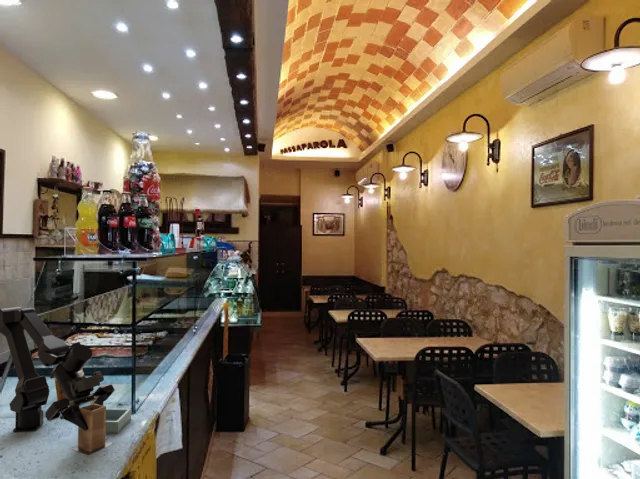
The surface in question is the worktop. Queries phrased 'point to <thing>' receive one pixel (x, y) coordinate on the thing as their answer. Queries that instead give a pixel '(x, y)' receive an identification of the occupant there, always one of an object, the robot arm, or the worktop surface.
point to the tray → (117, 419)
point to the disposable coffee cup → (61, 389)
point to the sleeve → (92, 427)
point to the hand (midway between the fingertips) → (95, 426)
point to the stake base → (90, 451)
